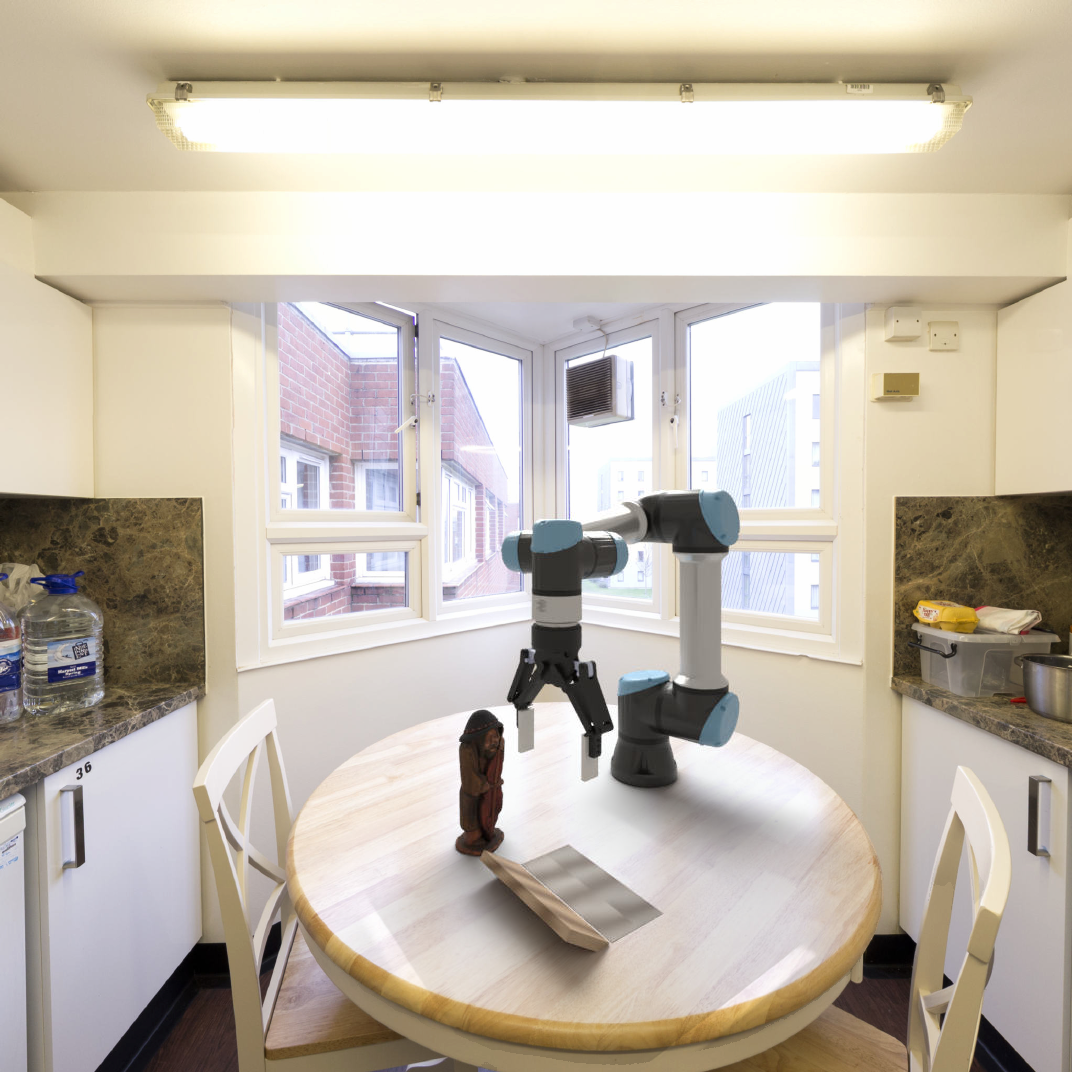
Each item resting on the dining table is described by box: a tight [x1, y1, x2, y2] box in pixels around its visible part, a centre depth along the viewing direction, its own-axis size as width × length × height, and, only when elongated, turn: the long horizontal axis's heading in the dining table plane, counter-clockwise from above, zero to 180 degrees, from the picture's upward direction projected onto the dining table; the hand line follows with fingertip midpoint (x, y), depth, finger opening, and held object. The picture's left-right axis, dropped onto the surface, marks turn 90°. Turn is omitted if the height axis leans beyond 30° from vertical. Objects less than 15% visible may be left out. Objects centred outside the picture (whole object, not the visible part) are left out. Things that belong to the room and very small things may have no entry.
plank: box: [479, 850, 610, 953], centre depth 85 cm, size 22×8×2 cm
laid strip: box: [520, 844, 664, 944], centre depth 91 cm, size 22×10×2 cm, turn 35°
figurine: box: [455, 709, 506, 857], centre depth 103 cm, size 10×8×25 cm
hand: (556, 763), depth 87 cm, fingers open, 13 cm apart
